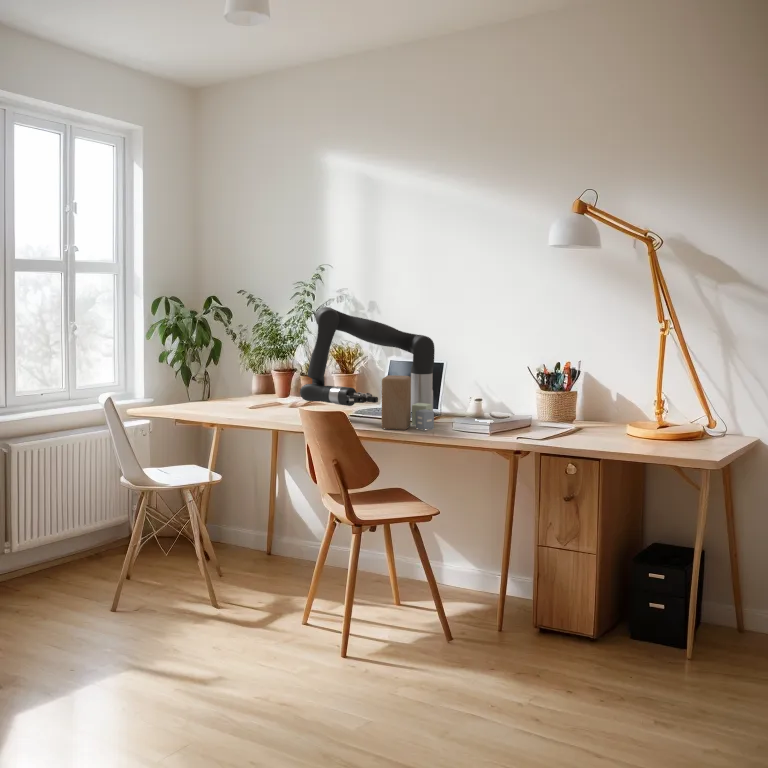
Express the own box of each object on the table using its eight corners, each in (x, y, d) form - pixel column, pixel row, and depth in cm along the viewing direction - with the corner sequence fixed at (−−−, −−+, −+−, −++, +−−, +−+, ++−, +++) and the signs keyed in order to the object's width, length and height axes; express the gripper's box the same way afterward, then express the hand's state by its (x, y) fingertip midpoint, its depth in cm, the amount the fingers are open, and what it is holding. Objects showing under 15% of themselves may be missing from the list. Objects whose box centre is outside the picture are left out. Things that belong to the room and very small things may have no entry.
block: (406, 430, 326) (406, 378, 323) (381, 429, 328) (381, 378, 325) (411, 425, 335) (411, 375, 333) (386, 424, 337) (386, 374, 335)
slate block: (425, 427, 333) (425, 409, 332) (434, 429, 329) (434, 411, 328) (415, 428, 330) (415, 410, 329) (424, 430, 326) (424, 412, 325)
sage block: (417, 422, 343) (417, 402, 342) (431, 423, 340) (432, 404, 339) (411, 424, 337) (411, 405, 336) (425, 426, 335) (426, 406, 334)
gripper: (332, 388, 340) (366, 392, 330) (352, 384, 350) (386, 388, 340) (332, 407, 341) (366, 411, 331) (352, 402, 352) (386, 407, 341)
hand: (376, 399), depth 336 cm, fingers closed
